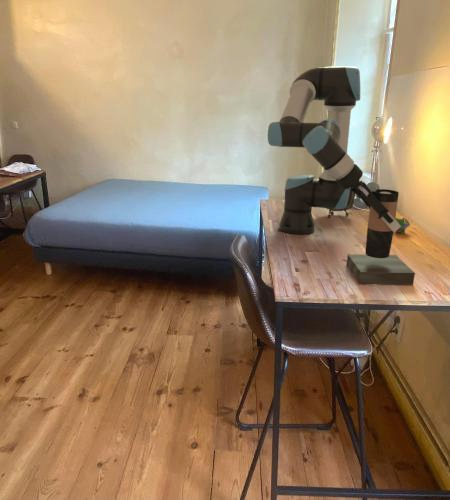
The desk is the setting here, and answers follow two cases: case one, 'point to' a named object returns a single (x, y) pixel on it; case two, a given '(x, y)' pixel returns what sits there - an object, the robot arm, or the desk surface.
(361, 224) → the desk surface
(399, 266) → the stand
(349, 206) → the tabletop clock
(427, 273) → the desk surface
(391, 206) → the travel mug
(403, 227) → the geometric puzzle
